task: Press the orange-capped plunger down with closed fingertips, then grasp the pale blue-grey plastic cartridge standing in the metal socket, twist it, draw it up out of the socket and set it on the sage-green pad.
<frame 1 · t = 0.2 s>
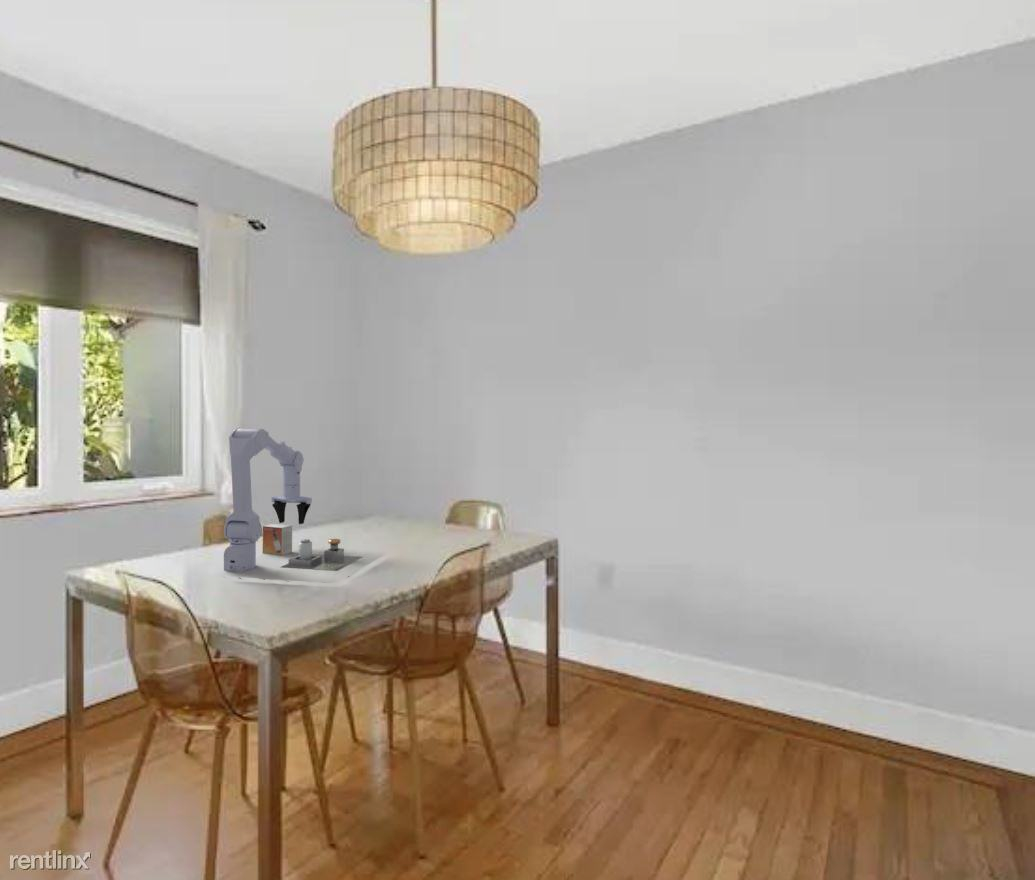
hand: (291, 523, 226), 10 cm above the table, fingers open, 7 cm apart
plunger: (334, 546, 211), point 6 cm above the table, slide at 0.0 cm
small box: (277, 556, 220), on the table
housing: (322, 565, 208), on the table
cartridge: (305, 562, 206), point 1 cm above the table, touching housing
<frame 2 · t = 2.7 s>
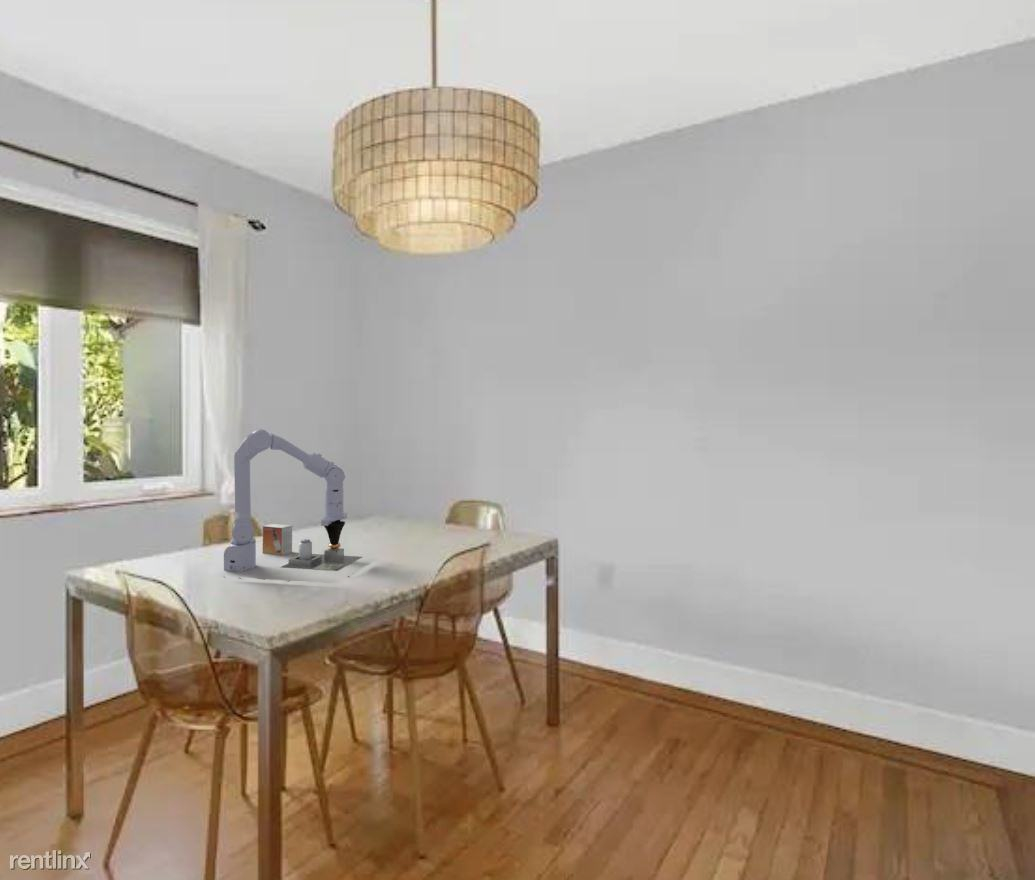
hand: (334, 544, 211), 6 cm above the table, fingers closed, pressing on plunger
plunger: (334, 550, 211), point 4 cm above the table, slide at 1.3 cm, touching gripper
everything else where it was.
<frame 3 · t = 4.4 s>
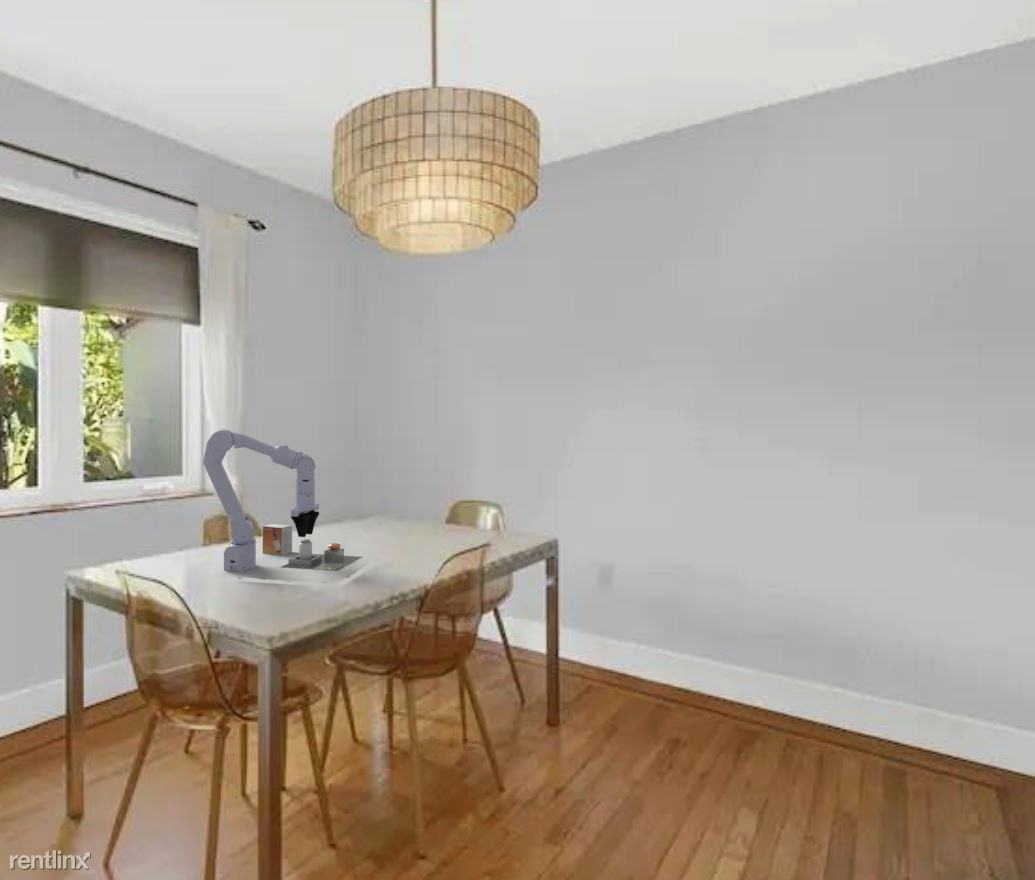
hand: (305, 535, 206), 10 cm above the table, fingers open, 4 cm apart
plunger: (334, 550, 211), point 4 cm above the table, slide at 1.5 cm
everything else where it was.
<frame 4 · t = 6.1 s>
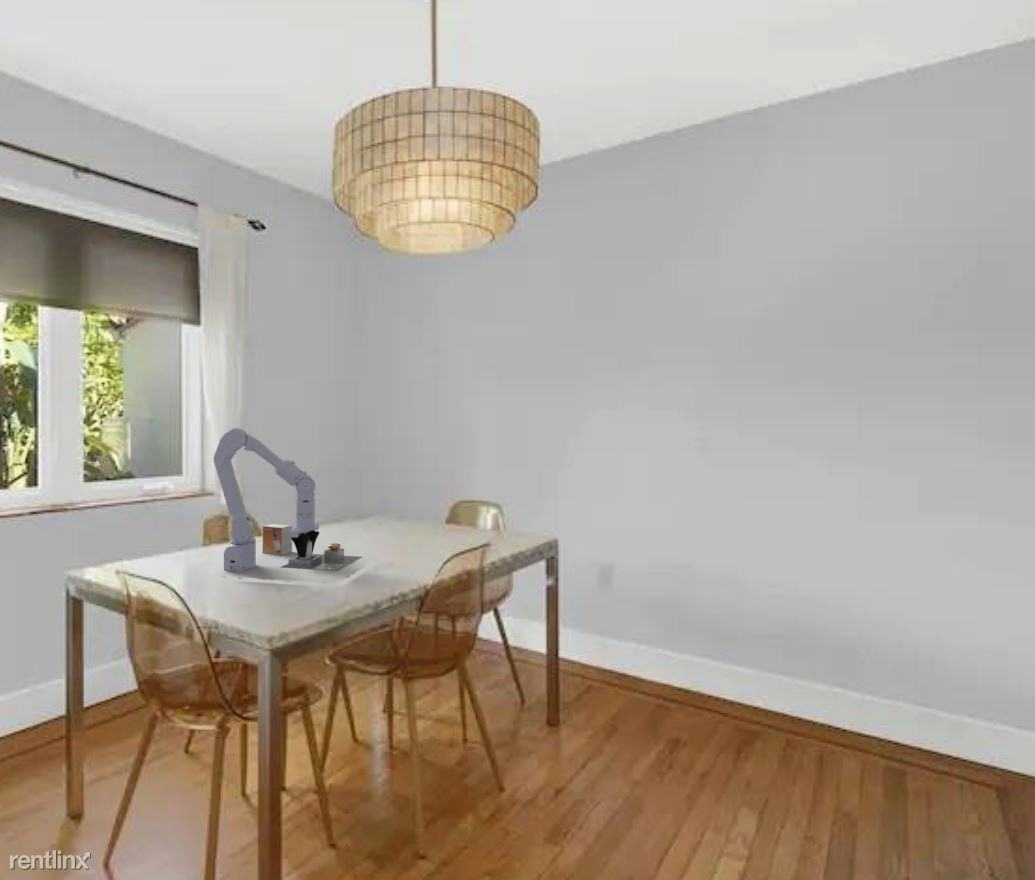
hand: (305, 555, 206), 3 cm above the table, fingers closed on cartridge, 4 cm apart
cartridge: (305, 562, 206), point 1 cm above the table, touching gripper, housing
everything else where it was.
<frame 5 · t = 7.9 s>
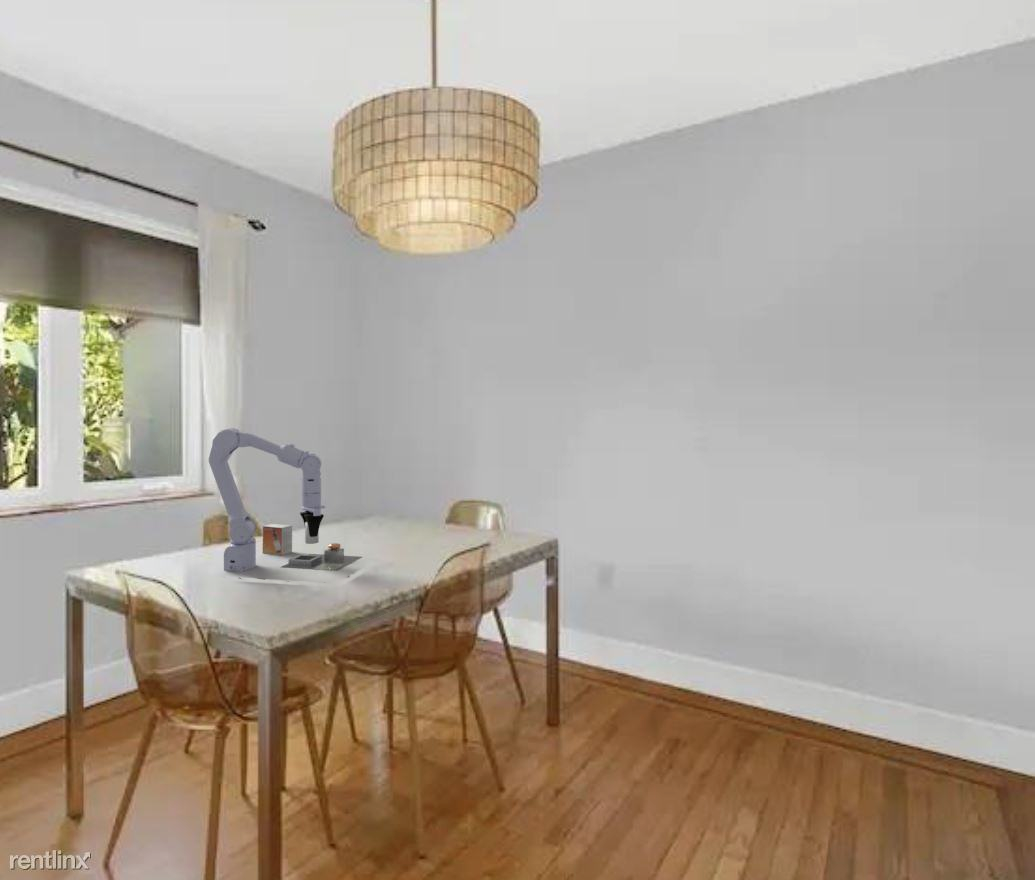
hand: (311, 535, 204), 10 cm above the table, fingers closed on cartridge, 4 cm apart
cartridge: (311, 542, 205), point 8 cm above the table, touching gripper
everything else where it was.
when the fingers open (5 cm above the table, at t = 9.8 s): cartridge stays where it is, resting on housing.
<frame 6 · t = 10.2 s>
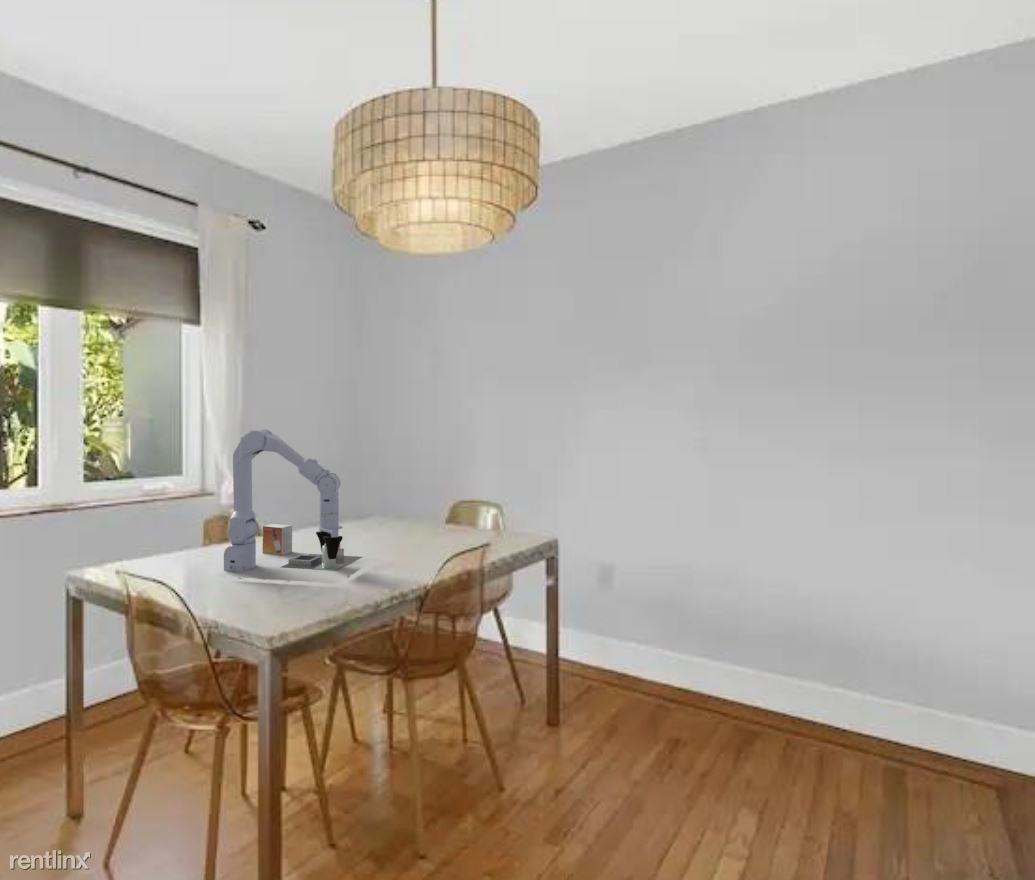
hand: (329, 556, 201), 5 cm above the table, fingers open, 7 cm apart
cartridge: (329, 566, 201), point 1 cm above the table, touching housing
everything else where it was.
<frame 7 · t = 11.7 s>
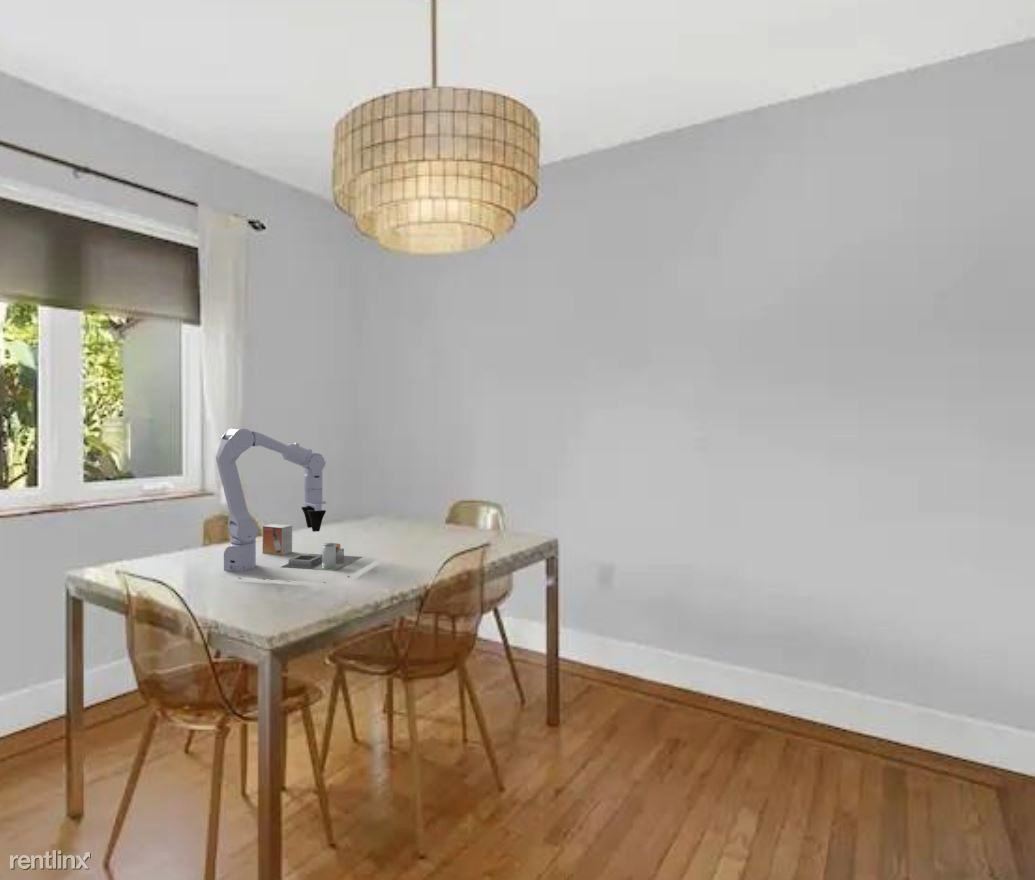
hand: (313, 529, 215), 10 cm above the table, fingers open, 7 cm apart
nothing on the table moved.
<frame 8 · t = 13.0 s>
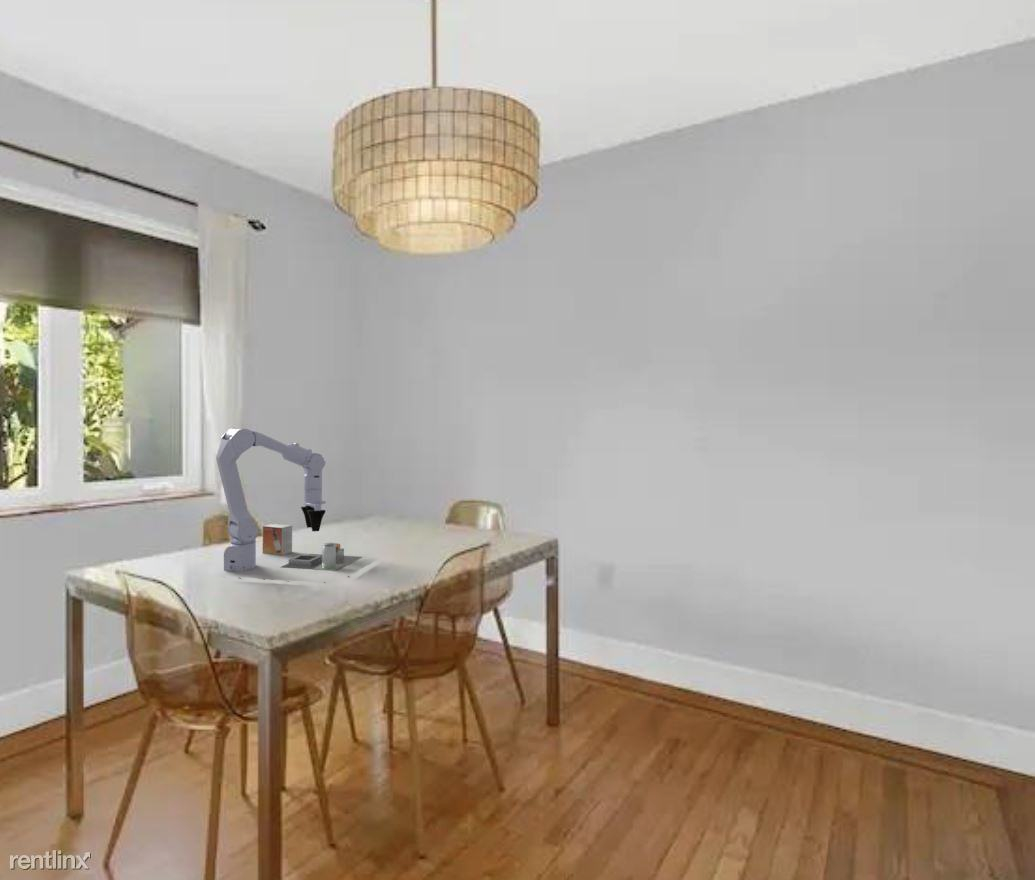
hand: (313, 529, 215), 10 cm above the table, fingers open, 7 cm apart
nothing on the table moved.
at the end: cartridge inside the target area on the housing (0.0 cm from its centre), point 1.4 cm above the housing's base; cartridge tilted 0°; plunger slide at 1.5 cm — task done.
